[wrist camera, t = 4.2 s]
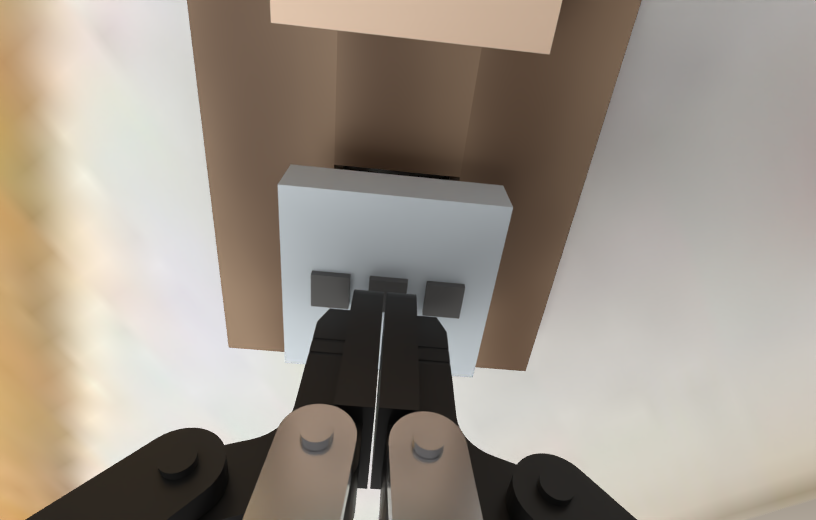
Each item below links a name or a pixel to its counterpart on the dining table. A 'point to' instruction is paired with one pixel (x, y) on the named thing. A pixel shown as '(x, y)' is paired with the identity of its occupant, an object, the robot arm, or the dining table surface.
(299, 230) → the key three
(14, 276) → the dining table surface
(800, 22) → the dining table surface
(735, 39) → the dining table surface
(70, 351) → the dining table surface
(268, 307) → the key board
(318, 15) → the key two
